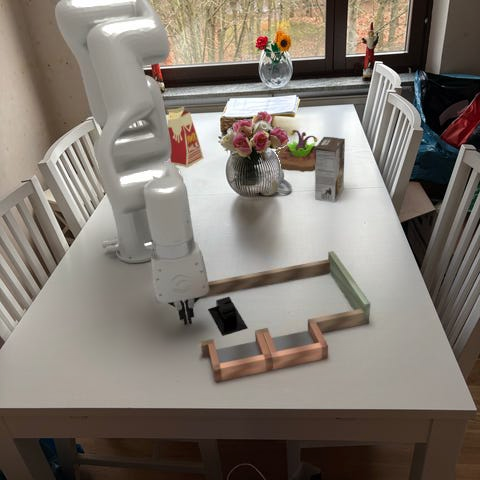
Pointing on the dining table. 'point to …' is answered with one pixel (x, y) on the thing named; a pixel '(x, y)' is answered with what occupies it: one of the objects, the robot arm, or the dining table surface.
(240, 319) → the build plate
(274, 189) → the ceramic mug
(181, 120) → the milk carton
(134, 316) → the dining table surface
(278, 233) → the dining table surface
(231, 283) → the track
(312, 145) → the plant
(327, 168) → the coffee box
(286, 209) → the dining table surface
